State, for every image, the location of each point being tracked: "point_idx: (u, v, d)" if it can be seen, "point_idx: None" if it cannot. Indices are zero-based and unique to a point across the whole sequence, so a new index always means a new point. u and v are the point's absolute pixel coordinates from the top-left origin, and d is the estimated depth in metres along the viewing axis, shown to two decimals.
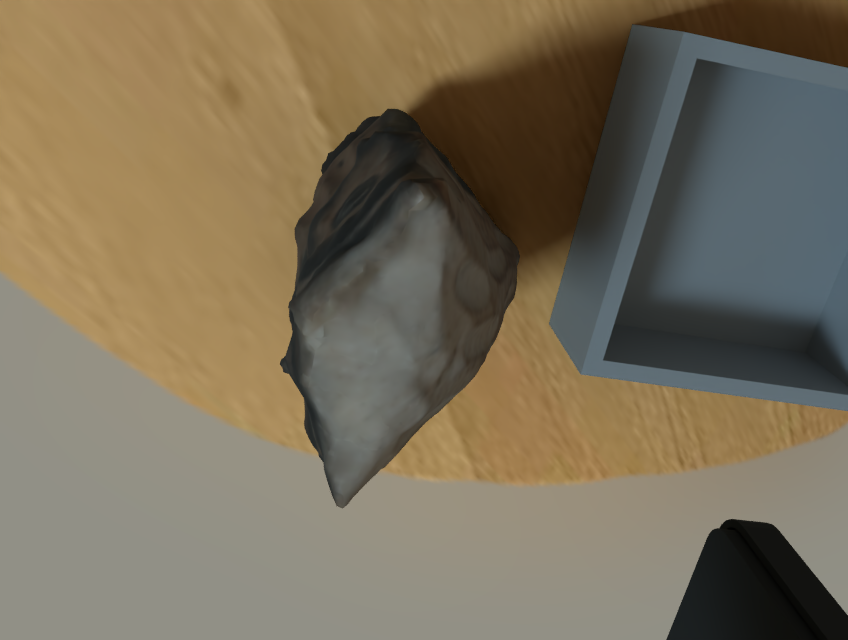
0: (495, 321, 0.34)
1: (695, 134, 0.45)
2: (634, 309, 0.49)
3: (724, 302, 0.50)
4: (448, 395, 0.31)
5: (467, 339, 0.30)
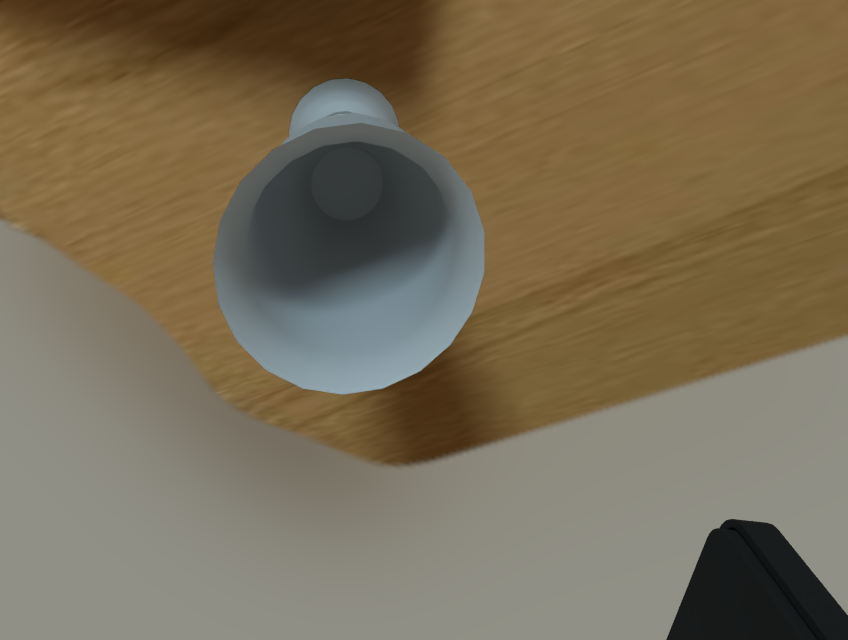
0: None
1: None
2: None
3: None
4: None
5: None
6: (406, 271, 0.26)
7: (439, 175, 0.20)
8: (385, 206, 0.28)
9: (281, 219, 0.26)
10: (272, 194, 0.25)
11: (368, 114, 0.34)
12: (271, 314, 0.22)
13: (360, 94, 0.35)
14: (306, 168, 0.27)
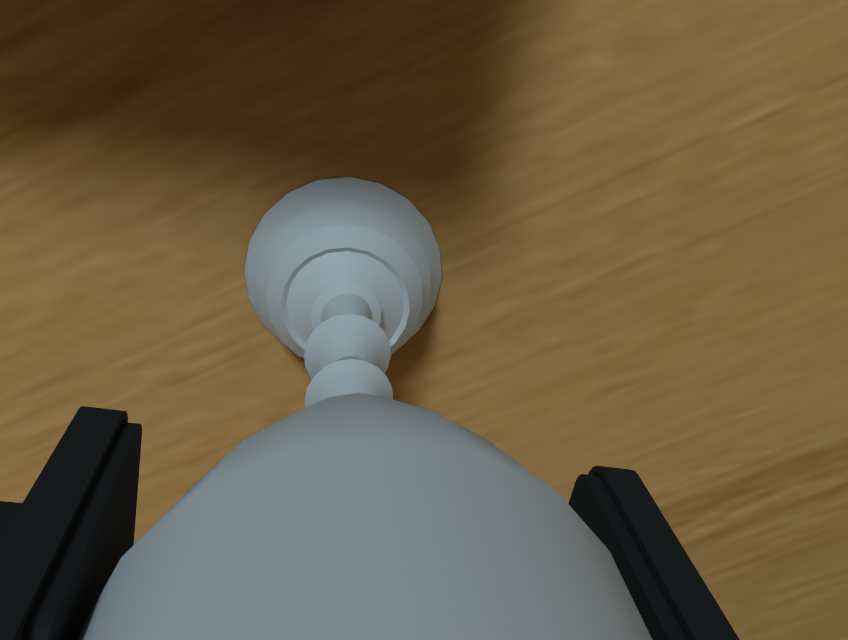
0: None
1: None
2: None
3: None
4: None
5: None
6: None
7: None
8: None
9: None
10: None
11: (389, 250, 0.18)
12: None
13: (373, 209, 0.19)
14: None
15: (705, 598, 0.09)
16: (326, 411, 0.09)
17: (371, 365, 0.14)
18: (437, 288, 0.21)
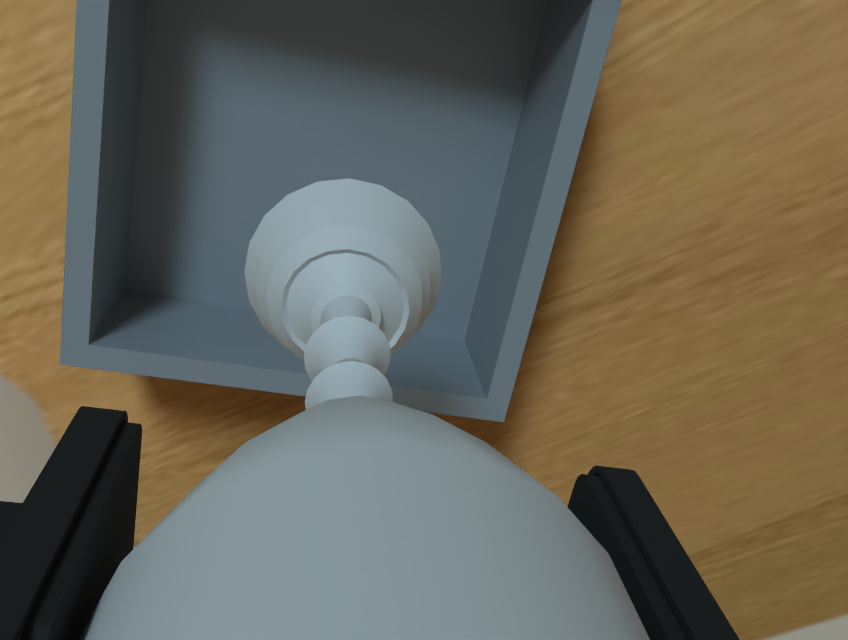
0: None
1: (437, 75, 0.34)
2: (175, 11, 0.32)
3: (196, 155, 0.34)
4: None
5: None
6: None
7: None
8: None
9: None
10: None
11: (389, 252, 0.18)
12: None
13: (373, 211, 0.19)
14: None
15: (705, 598, 0.09)
16: (326, 414, 0.09)
17: (371, 367, 0.14)
18: (437, 289, 0.21)
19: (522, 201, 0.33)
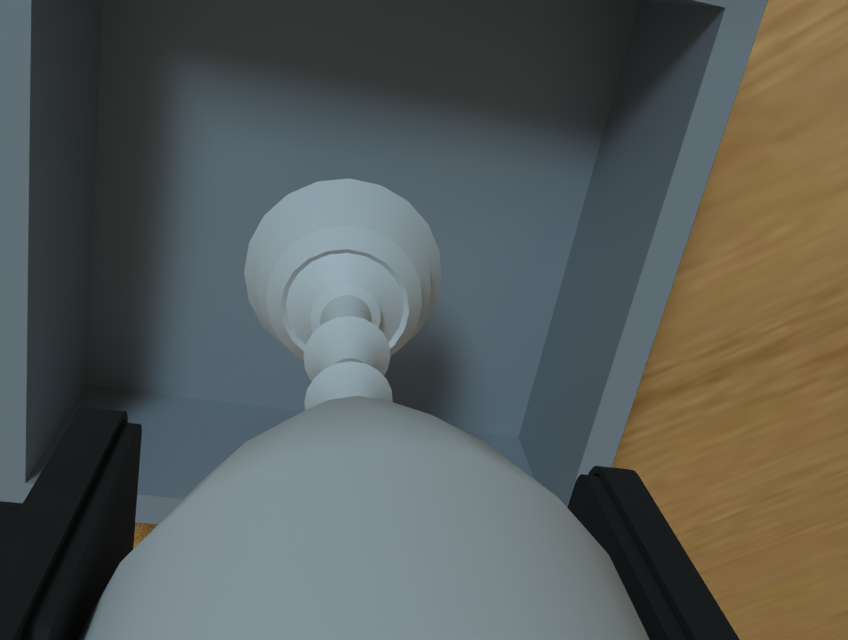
0: None
1: (489, 108, 0.26)
2: (141, 29, 0.24)
3: (173, 215, 0.26)
4: None
5: None
6: None
7: None
8: None
9: None
10: None
11: (388, 252, 0.18)
12: None
13: (373, 211, 0.19)
14: None
15: (705, 598, 0.09)
16: (325, 415, 0.09)
17: (371, 368, 0.14)
18: (437, 289, 0.21)
19: (606, 278, 0.24)
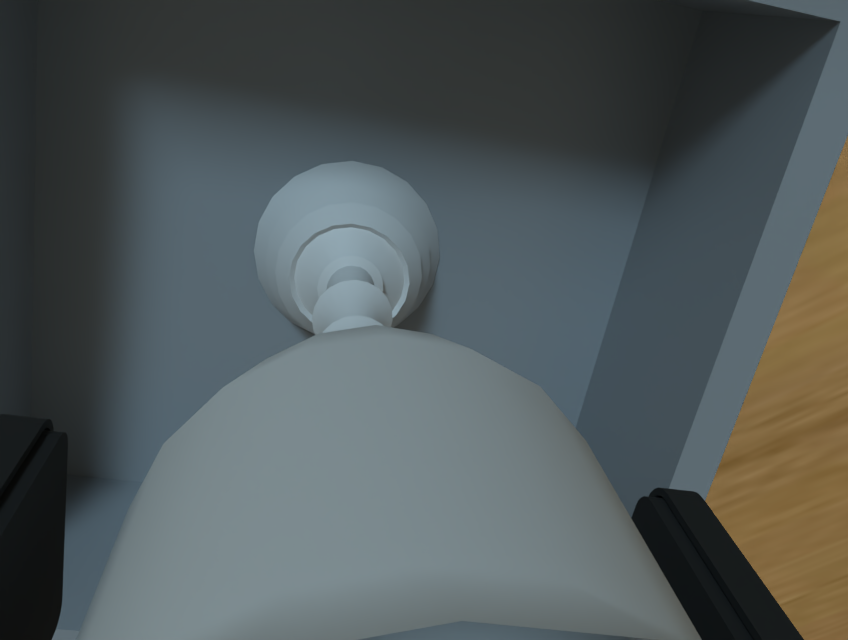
0: None
1: (517, 140, 0.21)
2: (87, 46, 0.19)
3: (131, 272, 0.21)
4: None
5: None
6: None
7: None
8: None
9: None
10: None
11: (389, 227, 0.20)
12: None
13: (374, 190, 0.20)
14: None
15: (787, 630, 0.08)
16: (337, 332, 0.10)
17: (375, 322, 0.15)
18: (435, 266, 0.22)
19: (665, 353, 0.20)
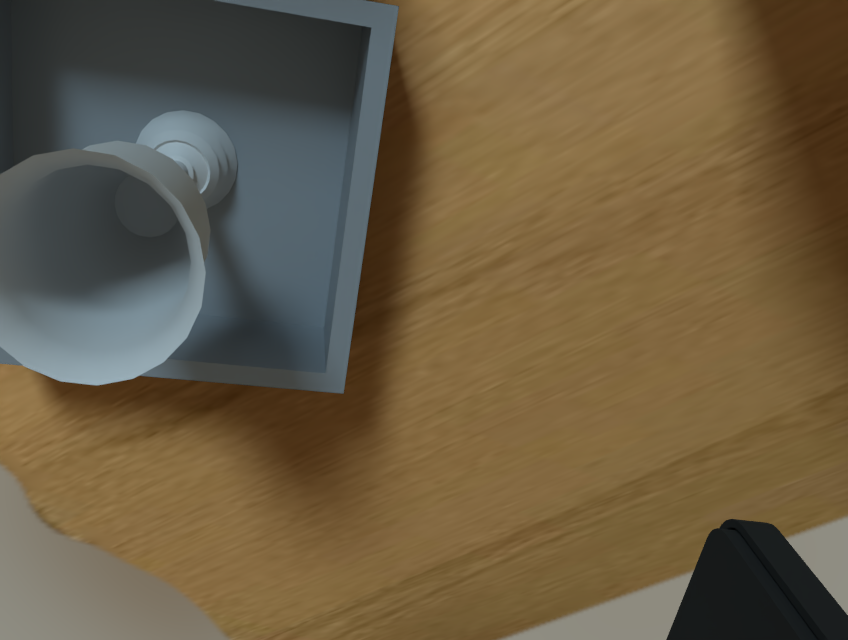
0: None
1: (272, 96, 0.39)
2: (37, 53, 0.37)
3: None
4: None
5: None
6: (187, 279, 0.29)
7: (158, 190, 0.23)
8: None
9: (77, 237, 0.29)
10: (60, 215, 0.28)
11: (197, 141, 0.38)
12: (38, 319, 0.25)
13: (192, 124, 0.38)
14: (104, 192, 0.30)
15: None
16: None
17: None
18: (235, 167, 0.40)
19: (345, 201, 0.38)
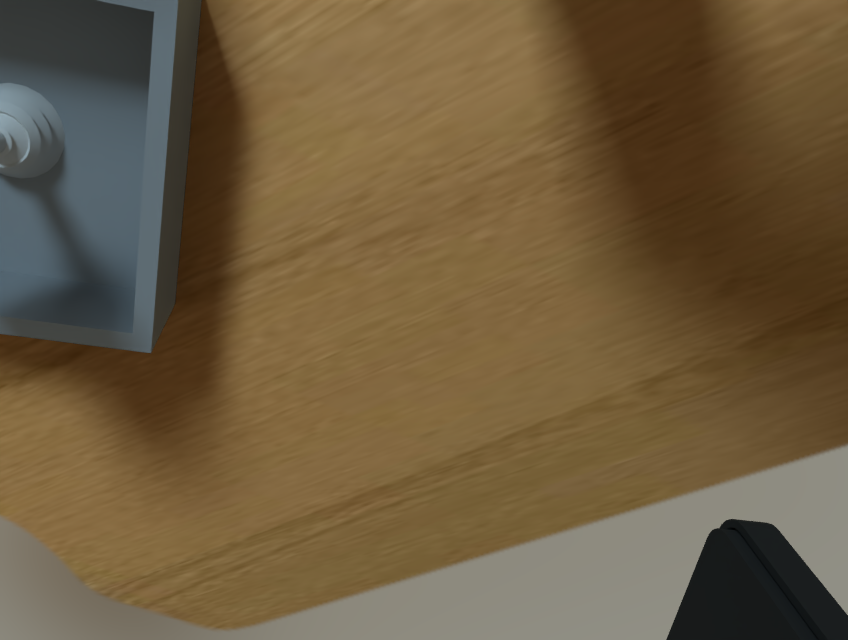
0: None
1: (94, 73, 0.42)
2: None
3: None
4: None
5: None
6: None
7: None
8: None
9: None
10: None
11: (17, 112, 0.41)
12: None
13: (15, 96, 0.41)
14: None
15: None
16: None
17: None
18: (62, 138, 0.43)
19: None
